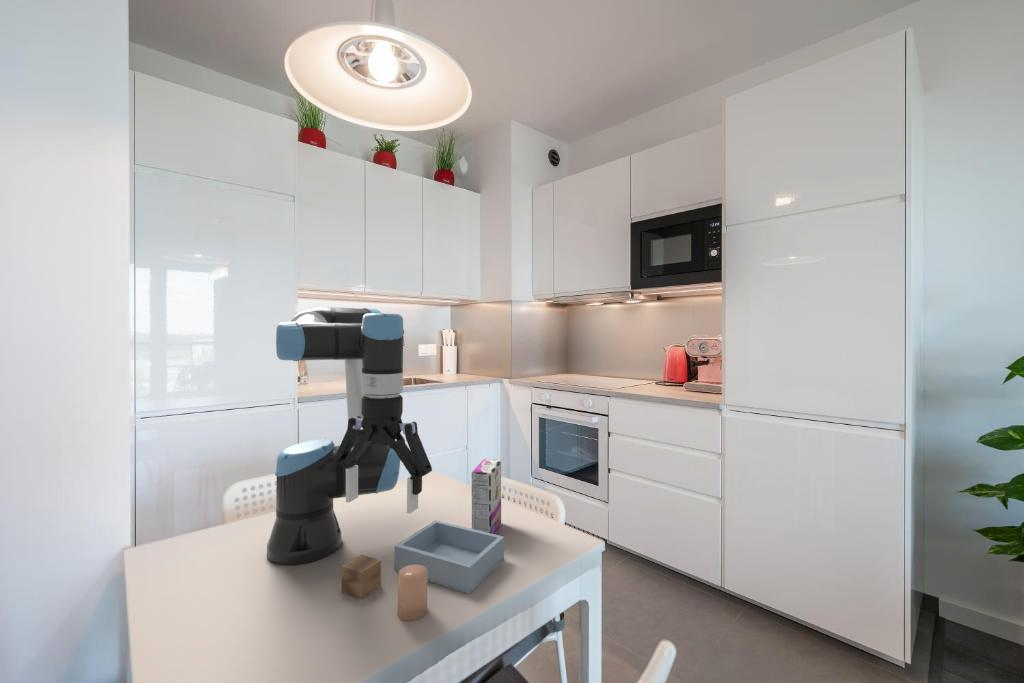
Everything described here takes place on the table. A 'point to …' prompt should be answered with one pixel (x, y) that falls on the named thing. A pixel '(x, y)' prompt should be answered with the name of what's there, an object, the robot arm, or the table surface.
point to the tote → (451, 554)
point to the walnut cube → (360, 576)
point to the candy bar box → (486, 496)
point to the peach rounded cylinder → (412, 592)
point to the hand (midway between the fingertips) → (381, 505)
